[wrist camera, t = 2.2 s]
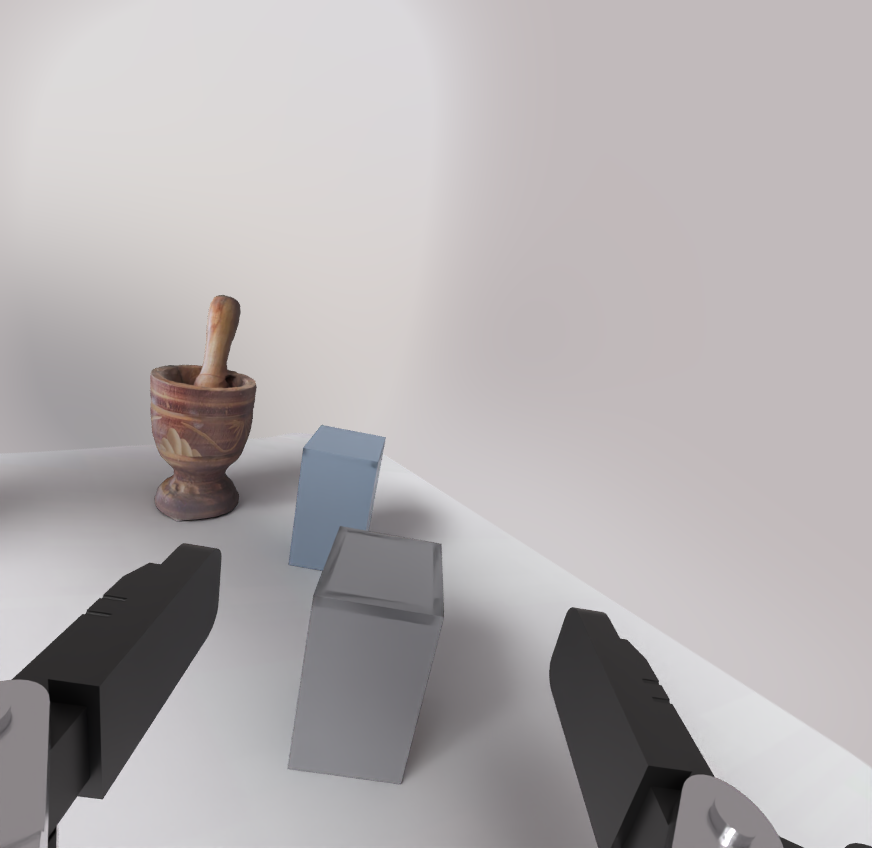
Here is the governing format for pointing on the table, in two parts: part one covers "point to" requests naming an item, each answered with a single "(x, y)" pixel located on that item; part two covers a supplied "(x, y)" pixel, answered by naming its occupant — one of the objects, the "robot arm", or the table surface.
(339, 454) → the light blue box
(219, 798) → the table surface
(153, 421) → the mortar and pestle
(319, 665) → the cover
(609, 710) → the robot arm
